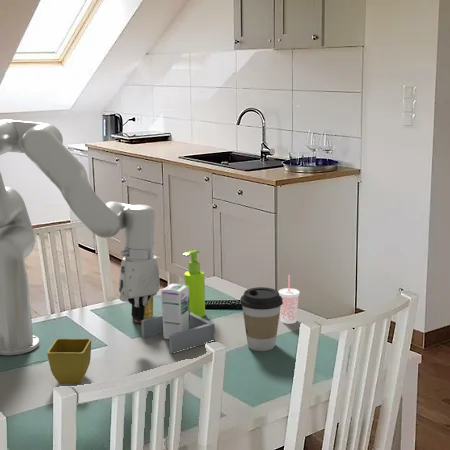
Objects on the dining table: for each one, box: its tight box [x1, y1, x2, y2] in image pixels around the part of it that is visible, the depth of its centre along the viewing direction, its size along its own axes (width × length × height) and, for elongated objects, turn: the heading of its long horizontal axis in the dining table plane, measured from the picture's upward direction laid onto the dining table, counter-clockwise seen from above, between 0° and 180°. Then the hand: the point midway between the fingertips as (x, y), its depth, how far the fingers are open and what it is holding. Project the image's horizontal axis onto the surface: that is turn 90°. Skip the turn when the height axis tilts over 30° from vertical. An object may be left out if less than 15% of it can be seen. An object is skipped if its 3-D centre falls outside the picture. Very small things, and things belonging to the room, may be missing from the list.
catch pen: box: [140, 312, 216, 354], centre depth 200 cm, size 14×15×5 cm
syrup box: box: [161, 283, 190, 340], centre depth 200 cm, size 6×6×14 cm
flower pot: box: [46, 338, 92, 385], centre depth 175 cm, size 9×9×9 cm
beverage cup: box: [277, 274, 300, 325], centre depth 211 cm, size 6×6×14 cm
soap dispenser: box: [182, 249, 206, 318], centre depth 215 cm, size 6×7×20 cm
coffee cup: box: [239, 286, 283, 352], centre depth 193 cm, size 11×11×15 cm
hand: (138, 318), depth 193 cm, fingers closed
